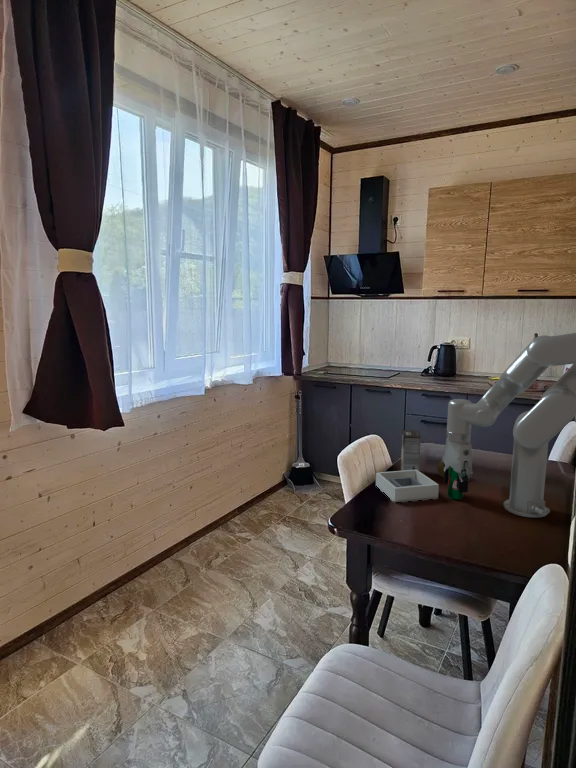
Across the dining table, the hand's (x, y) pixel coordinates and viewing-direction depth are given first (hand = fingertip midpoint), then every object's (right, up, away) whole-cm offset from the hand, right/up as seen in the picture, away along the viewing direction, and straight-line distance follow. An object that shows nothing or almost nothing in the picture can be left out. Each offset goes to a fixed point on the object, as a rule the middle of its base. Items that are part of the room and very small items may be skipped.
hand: (455, 487), depth 163 cm
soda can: (0, -4, +1) cm, 4 cm away
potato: (+4, -1, +20) cm, 20 cm away
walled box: (-15, -3, +5) cm, 16 cm away
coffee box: (-9, 0, +24) cm, 26 cm away
